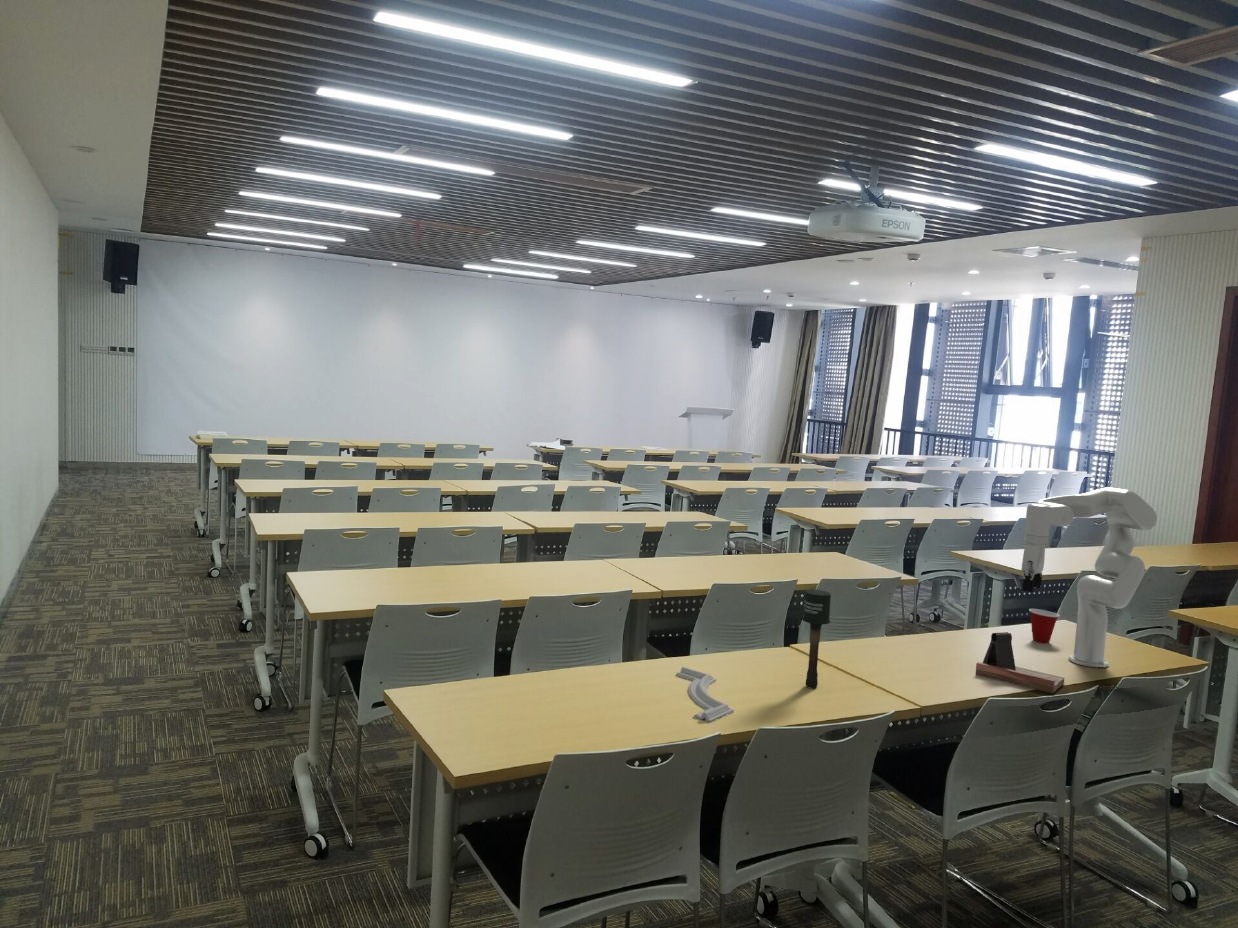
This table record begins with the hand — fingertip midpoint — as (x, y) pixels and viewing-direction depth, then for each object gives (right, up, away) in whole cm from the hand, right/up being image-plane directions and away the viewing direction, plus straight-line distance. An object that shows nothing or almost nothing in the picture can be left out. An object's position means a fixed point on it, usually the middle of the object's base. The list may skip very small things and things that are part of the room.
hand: (1031, 589), depth 297 cm
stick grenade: (-82, -27, -28) cm, 91 cm away
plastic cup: (+23, -27, +40) cm, 54 cm away
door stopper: (-13, -26, -4) cm, 30 cm away
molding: (-119, -26, -41) cm, 128 cm away
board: (-8, -29, -9) cm, 31 cm away
